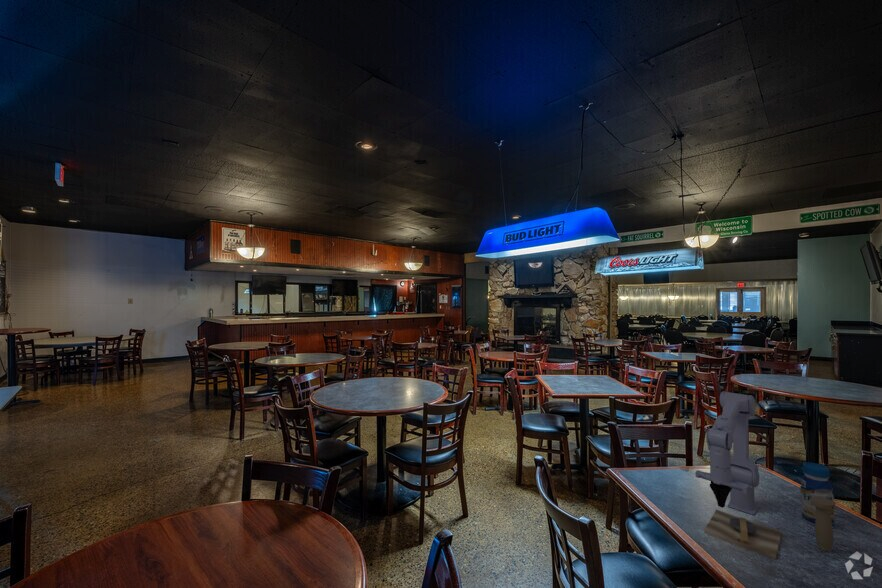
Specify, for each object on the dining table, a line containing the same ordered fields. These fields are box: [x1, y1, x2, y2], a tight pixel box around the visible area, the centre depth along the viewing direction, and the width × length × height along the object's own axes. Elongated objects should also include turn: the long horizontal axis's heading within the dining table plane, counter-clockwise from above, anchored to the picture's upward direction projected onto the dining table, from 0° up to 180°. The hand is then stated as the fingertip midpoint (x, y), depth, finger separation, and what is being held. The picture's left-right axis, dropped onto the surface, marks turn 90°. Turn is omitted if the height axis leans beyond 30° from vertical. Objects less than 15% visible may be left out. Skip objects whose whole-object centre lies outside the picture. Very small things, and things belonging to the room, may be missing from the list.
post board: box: [704, 509, 783, 561], centre depth 124 cm, size 18×18×2 cm
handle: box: [811, 497, 836, 553], centre depth 116 cm, size 5×6×15 cm
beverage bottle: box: [799, 461, 835, 529], centre depth 131 cm, size 8×8×20 cm
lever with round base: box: [730, 517, 756, 541], centre depth 122 cm, size 12×7×3 cm, turn 143°
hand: (721, 506), depth 124 cm, fingers closed
